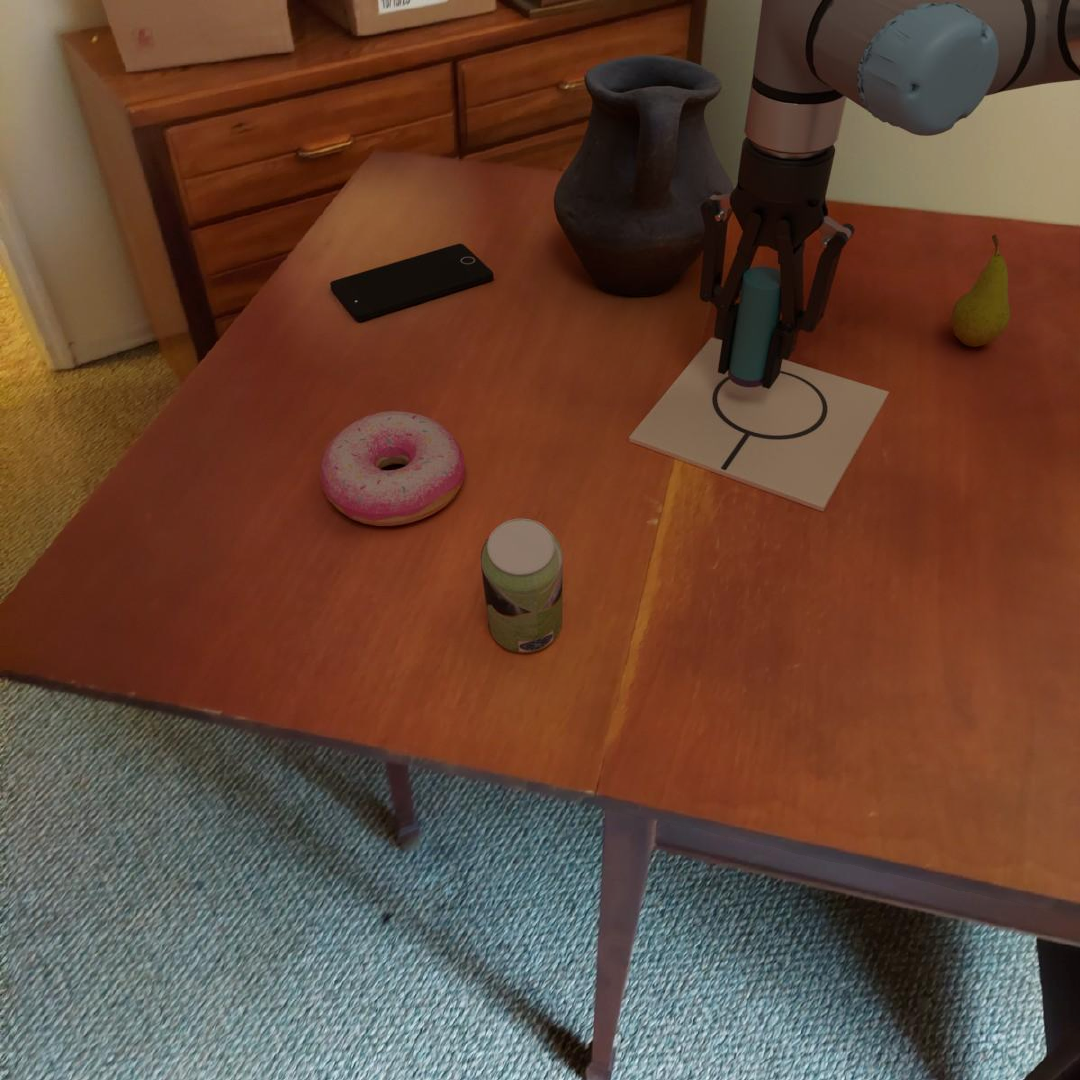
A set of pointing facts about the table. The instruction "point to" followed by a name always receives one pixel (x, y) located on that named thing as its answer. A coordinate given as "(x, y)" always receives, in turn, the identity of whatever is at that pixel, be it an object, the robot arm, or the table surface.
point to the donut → (398, 492)
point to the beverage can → (523, 585)
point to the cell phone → (410, 281)
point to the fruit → (984, 305)
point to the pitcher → (642, 174)
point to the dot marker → (755, 325)
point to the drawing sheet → (764, 426)
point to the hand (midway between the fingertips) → (748, 373)
